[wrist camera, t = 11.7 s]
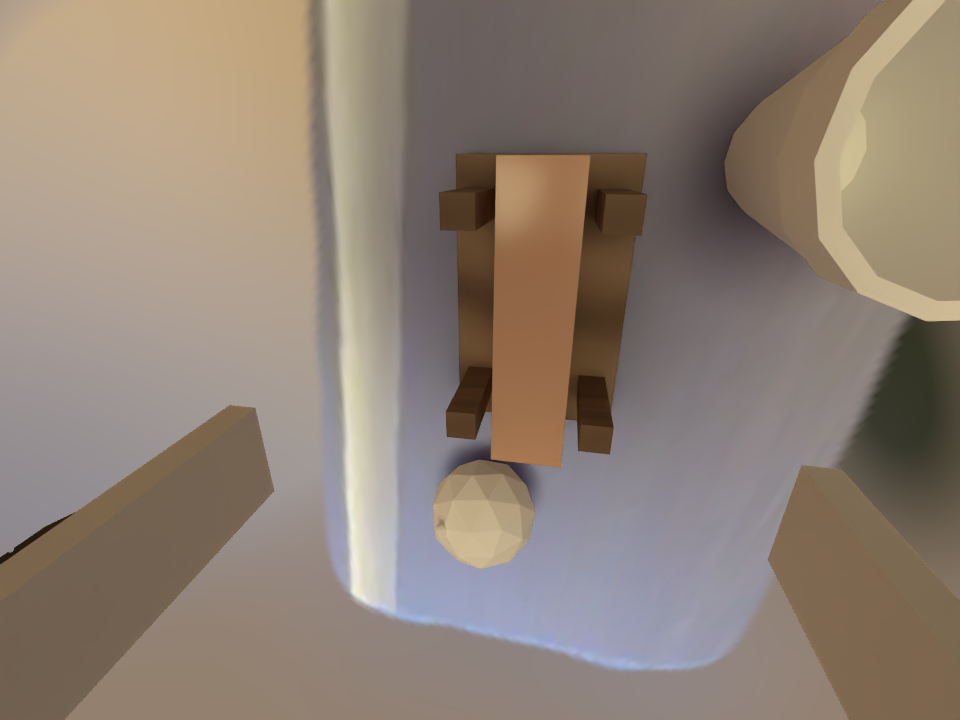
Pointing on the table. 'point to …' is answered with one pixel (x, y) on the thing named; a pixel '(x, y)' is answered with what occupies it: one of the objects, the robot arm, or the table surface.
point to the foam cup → (867, 160)
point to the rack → (599, 295)
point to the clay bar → (535, 301)
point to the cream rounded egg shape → (483, 513)
